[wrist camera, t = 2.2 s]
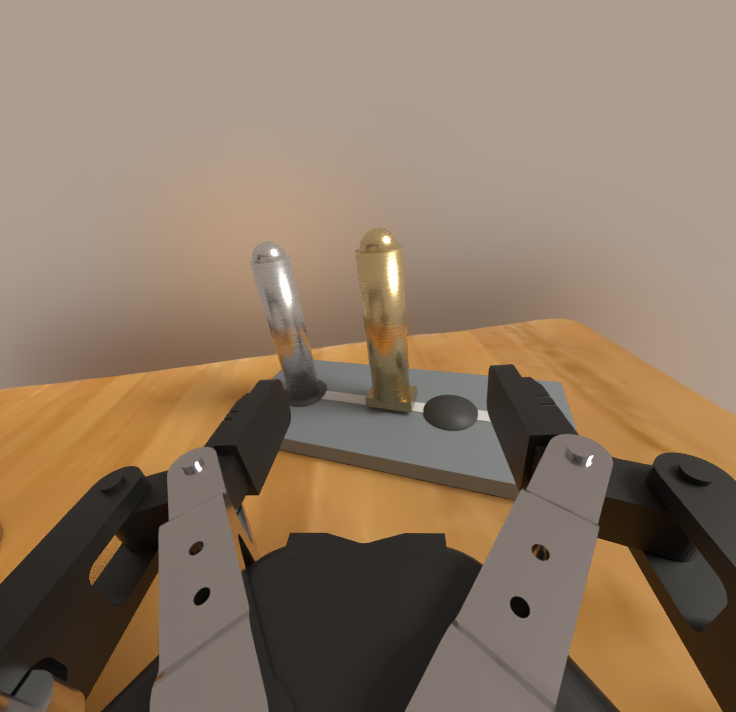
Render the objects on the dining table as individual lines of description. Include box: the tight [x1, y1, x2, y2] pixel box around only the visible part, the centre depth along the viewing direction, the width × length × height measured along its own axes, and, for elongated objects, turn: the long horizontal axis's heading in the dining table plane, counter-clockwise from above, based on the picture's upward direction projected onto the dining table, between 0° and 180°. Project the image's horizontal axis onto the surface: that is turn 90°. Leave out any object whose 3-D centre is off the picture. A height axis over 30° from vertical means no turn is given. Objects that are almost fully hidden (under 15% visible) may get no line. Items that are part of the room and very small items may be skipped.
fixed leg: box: [250, 242, 320, 401], centre depth 27 cm, size 3×3×14 cm
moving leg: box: [355, 228, 417, 413], centre depth 23 cm, size 4×3×14 cm
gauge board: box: [273, 360, 577, 500], centre depth 27 cm, size 28×12×2 cm, turn 71°
